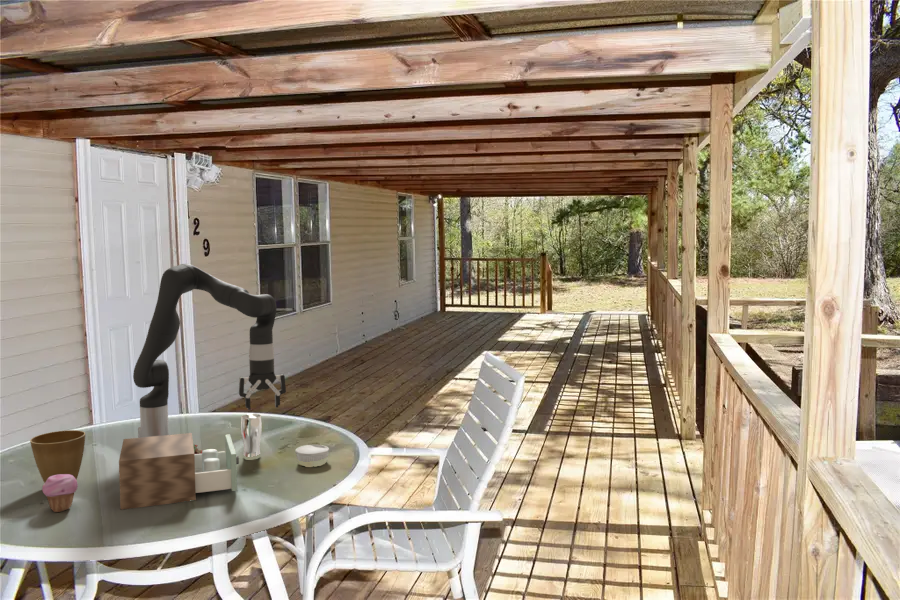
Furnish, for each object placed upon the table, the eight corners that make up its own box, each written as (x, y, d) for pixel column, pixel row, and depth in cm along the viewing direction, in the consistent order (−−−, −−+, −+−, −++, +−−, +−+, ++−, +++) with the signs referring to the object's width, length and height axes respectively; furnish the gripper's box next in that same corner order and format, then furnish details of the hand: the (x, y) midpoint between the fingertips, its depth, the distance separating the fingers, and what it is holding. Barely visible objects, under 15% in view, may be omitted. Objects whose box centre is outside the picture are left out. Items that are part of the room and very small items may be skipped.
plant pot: (74, 475, 229) (72, 427, 228) (96, 486, 220) (94, 435, 218) (24, 488, 218) (21, 437, 216) (44, 499, 208) (41, 446, 207)
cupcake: (39, 508, 201) (38, 474, 200) (72, 501, 207) (71, 467, 206) (48, 517, 194) (47, 482, 194) (83, 509, 201) (81, 474, 200)
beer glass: (265, 455, 251) (264, 413, 250) (258, 461, 245) (257, 418, 243) (246, 454, 252) (245, 413, 251) (238, 460, 245) (237, 418, 244)
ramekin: (334, 460, 246) (334, 445, 246) (320, 470, 236) (320, 454, 235) (305, 457, 249) (305, 443, 249) (289, 467, 239) (289, 452, 238)
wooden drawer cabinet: (192, 475, 230) (191, 432, 229) (195, 500, 208) (194, 453, 207) (125, 482, 223) (123, 439, 221) (120, 509, 200) (118, 461, 199)
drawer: (235, 467, 234) (234, 433, 233) (242, 489, 213) (241, 453, 212) (166, 474, 226) (165, 440, 226) (166, 499, 205) (164, 461, 204)
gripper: (239, 360, 218) (240, 412, 219) (286, 357, 223) (287, 408, 224) (237, 357, 225) (238, 407, 226) (282, 354, 230) (283, 403, 231)
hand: (262, 408), depth 225 cm, fingers open, 8 cm apart
